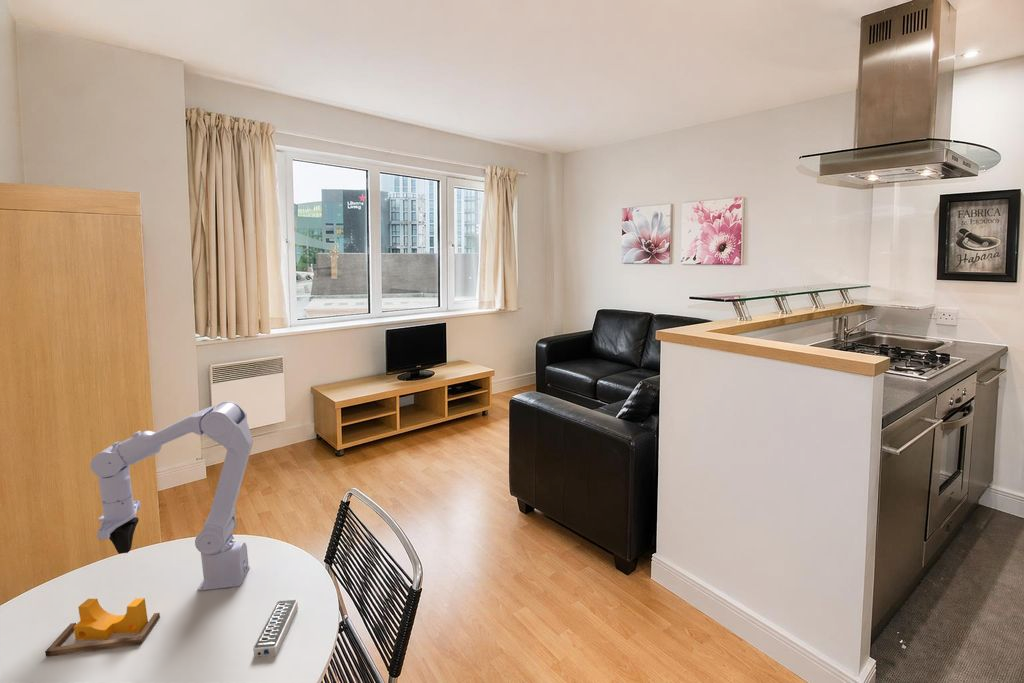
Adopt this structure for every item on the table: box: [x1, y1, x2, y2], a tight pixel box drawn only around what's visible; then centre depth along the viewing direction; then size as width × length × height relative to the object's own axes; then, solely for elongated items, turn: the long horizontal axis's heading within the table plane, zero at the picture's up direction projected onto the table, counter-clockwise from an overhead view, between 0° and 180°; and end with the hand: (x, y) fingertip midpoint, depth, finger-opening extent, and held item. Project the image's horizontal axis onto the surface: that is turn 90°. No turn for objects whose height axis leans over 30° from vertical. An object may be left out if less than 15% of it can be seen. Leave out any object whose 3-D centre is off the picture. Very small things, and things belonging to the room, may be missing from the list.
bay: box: [44, 612, 161, 658], centre depth 107 cm, size 17×8×1 cm, turn 101°
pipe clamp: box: [73, 597, 149, 641], centre depth 108 cm, size 12×4×6 cm, turn 91°
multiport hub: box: [253, 599, 299, 658], centre depth 109 cm, size 4×14×2 cm, turn 6°
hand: (124, 551), depth 121 cm, fingers closed
